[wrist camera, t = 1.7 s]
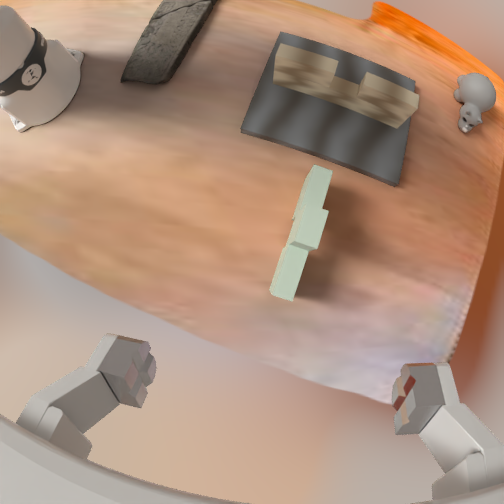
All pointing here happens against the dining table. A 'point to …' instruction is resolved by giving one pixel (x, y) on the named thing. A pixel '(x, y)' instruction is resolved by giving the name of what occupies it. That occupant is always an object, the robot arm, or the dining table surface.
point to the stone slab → (166, 40)
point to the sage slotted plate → (302, 233)
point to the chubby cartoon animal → (474, 99)
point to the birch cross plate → (333, 107)
